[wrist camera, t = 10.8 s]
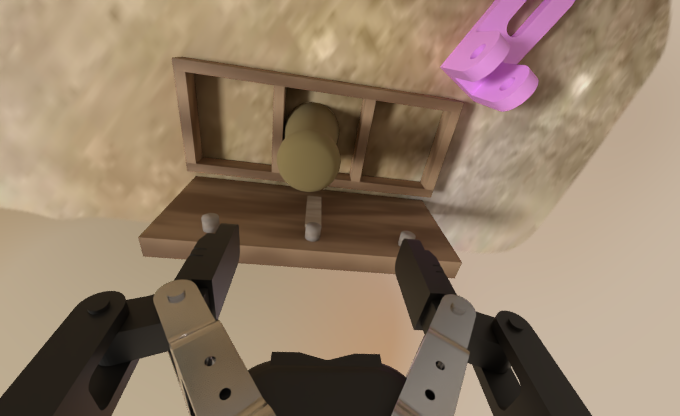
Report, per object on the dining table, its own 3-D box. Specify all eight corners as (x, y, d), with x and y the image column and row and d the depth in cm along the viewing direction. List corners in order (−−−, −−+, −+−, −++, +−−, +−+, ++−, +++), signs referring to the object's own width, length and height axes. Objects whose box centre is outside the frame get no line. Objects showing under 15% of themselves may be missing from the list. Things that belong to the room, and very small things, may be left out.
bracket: (473, 101, 30) (511, 115, 24) (439, 66, 28) (470, 72, 22) (584, -19, 26) (665, -39, 20) (552, -70, 24) (630, -109, 18)
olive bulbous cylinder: (329, 94, 29) (333, 118, 20) (345, 147, 32) (356, 191, 23) (275, 112, 30) (254, 144, 20) (296, 163, 33) (286, 211, 23)
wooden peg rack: (181, 56, 27) (92, 65, 16) (455, 99, 30) (526, 128, 20) (197, 191, 34) (143, 256, 23) (417, 213, 37) (454, 278, 27)
